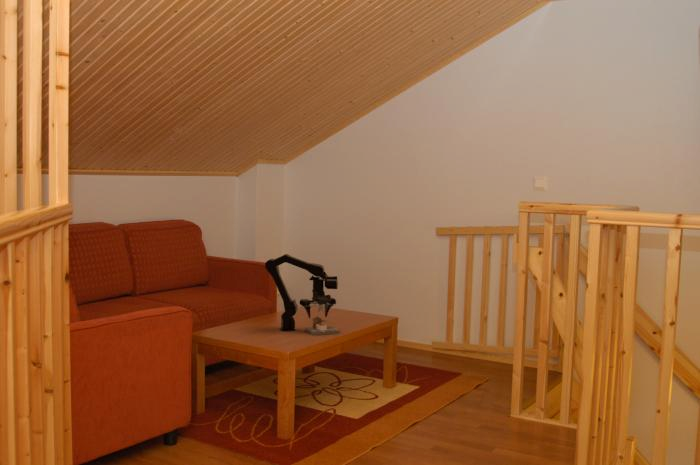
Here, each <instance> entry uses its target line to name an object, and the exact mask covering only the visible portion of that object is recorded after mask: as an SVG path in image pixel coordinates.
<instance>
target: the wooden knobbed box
mask: <svg viewBox="0 0 700 465" xmlns="http://www.w3.org/2000/svg"><path fill="white" fill-rule="evenodd" d="M322 319H323V318H322ZM322 319H321V317H319V318H318V315H317V316H316V317H313V318H312V327H313V328H315V329H316V324H319V323H321V324H323V320H322Z"/></svg>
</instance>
